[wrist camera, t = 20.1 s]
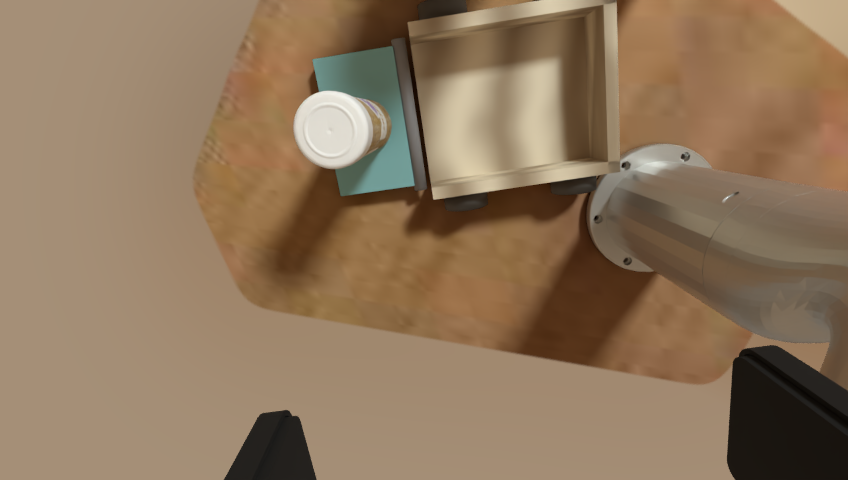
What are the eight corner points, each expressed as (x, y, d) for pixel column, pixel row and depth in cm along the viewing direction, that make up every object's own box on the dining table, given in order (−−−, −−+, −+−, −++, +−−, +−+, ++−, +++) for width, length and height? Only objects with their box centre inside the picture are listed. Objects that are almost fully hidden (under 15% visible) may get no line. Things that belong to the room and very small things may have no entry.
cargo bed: (590, -16, 36) (615, -37, 31) (597, 182, 41) (620, 190, 36) (406, 14, 37) (404, -1, 32) (434, 206, 42) (435, 217, 37)
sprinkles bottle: (400, 112, 37) (380, 111, 24) (380, 160, 38) (351, 182, 26) (352, 89, 37) (306, 76, 24) (333, 138, 38) (280, 150, 25)
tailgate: (404, 36, 35) (310, 53, 36) (427, 189, 39) (341, 201, 40) (405, 39, 37) (314, 54, 37) (427, 187, 40) (344, 199, 41)
